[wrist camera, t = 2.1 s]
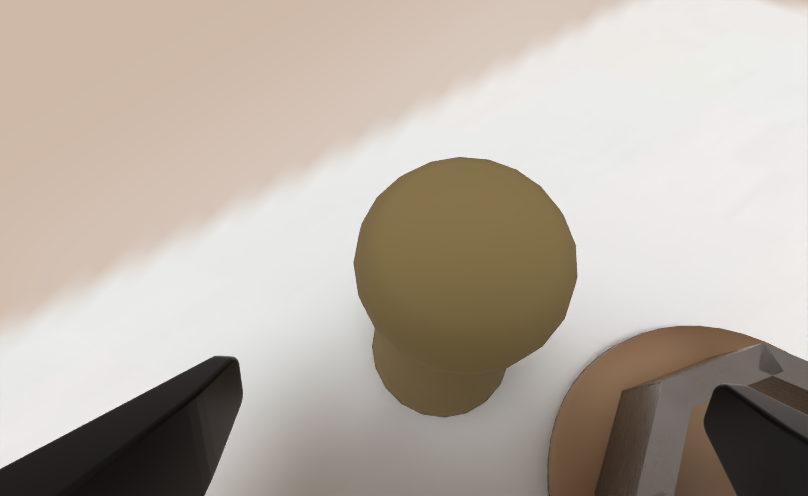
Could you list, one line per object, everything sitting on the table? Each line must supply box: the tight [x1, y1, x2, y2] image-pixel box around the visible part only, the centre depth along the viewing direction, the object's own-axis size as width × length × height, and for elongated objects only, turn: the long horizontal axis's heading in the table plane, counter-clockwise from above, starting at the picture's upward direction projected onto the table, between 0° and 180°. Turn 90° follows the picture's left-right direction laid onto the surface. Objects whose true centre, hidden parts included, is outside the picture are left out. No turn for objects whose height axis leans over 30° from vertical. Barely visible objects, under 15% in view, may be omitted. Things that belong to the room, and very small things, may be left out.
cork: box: [354, 157, 577, 417], centre depth 14 cm, size 6×6×11 cm
